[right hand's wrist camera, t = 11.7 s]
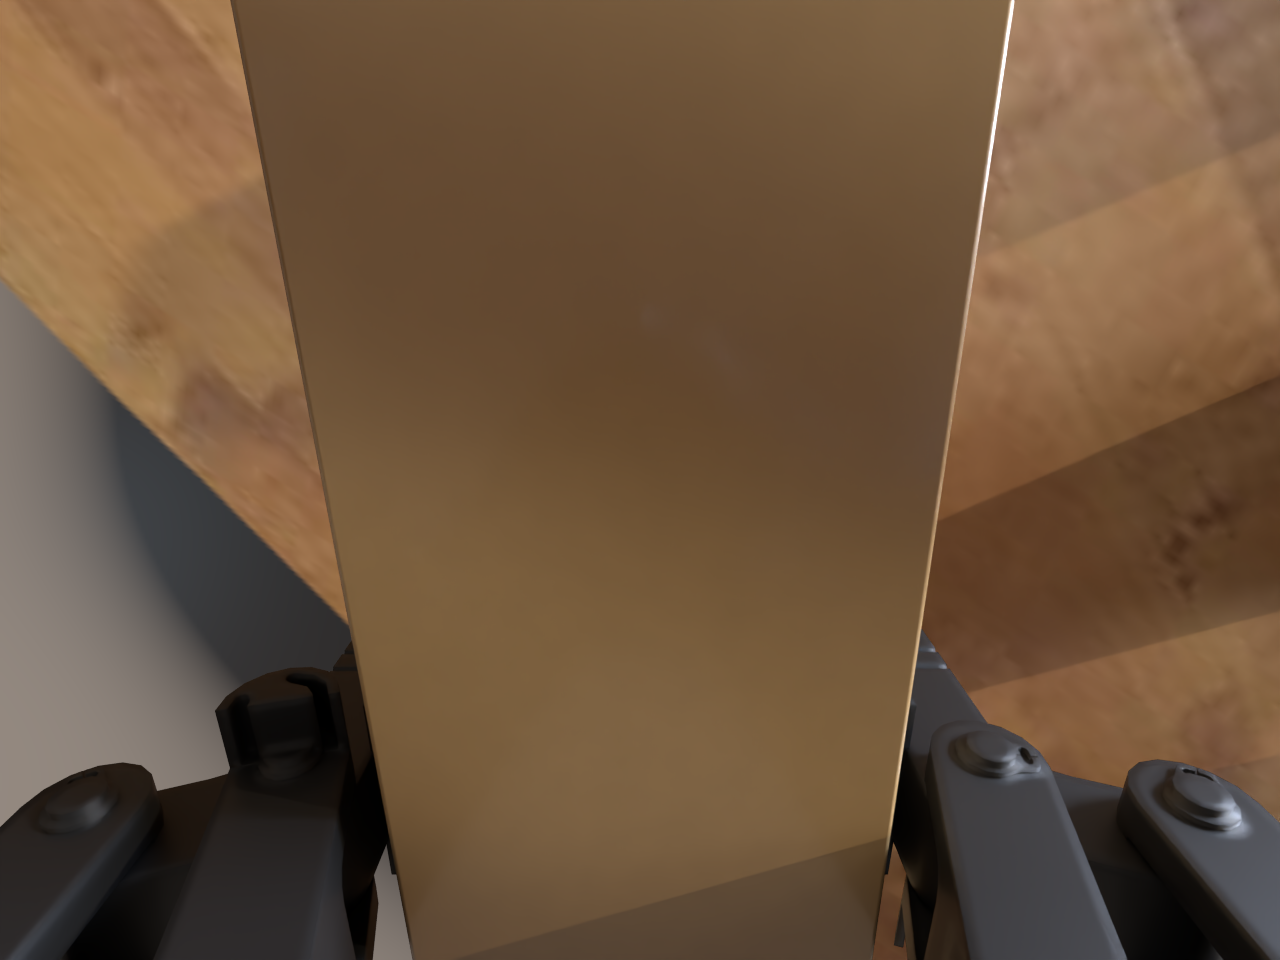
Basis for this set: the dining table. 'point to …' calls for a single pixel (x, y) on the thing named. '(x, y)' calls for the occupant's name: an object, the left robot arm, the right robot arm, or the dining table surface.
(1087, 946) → the right robot arm
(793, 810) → the beam
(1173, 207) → the dining table surface
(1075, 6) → the dining table surface
